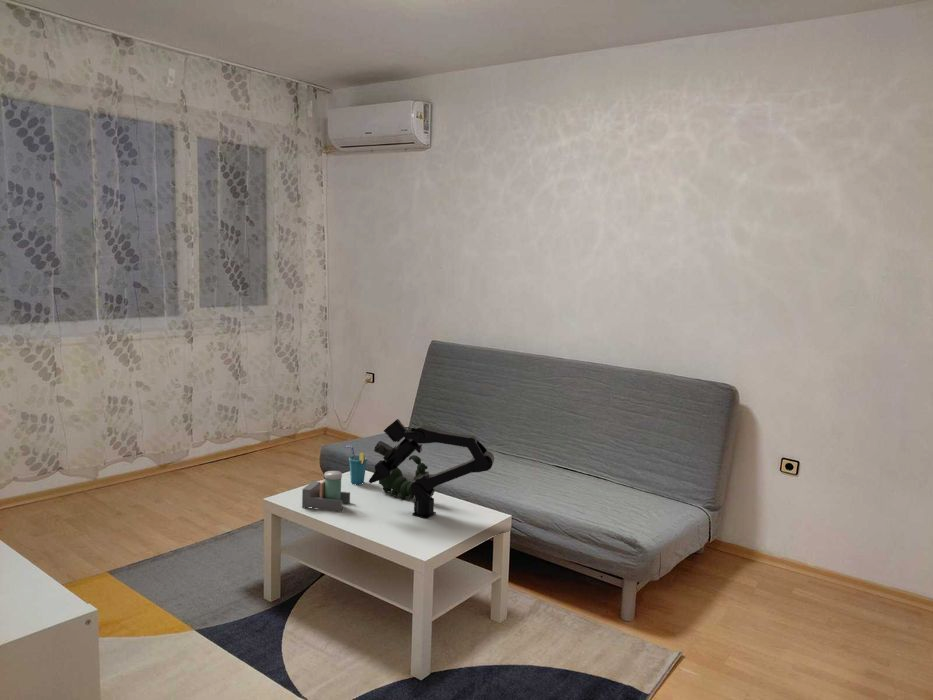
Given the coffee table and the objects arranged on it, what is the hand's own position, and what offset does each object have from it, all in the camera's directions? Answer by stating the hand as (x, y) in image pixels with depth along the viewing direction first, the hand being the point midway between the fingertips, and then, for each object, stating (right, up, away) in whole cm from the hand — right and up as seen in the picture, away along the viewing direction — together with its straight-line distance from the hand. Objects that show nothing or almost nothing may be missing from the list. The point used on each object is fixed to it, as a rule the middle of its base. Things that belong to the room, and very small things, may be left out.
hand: (373, 478), depth 250 cm
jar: (-16, -11, +4) cm, 19 cm away
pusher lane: (-18, -11, +4) cm, 21 cm away
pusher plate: (-19, -11, +4) cm, 22 cm away
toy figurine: (+8, -10, +19) cm, 23 cm away
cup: (-12, -8, +33) cm, 36 cm away
